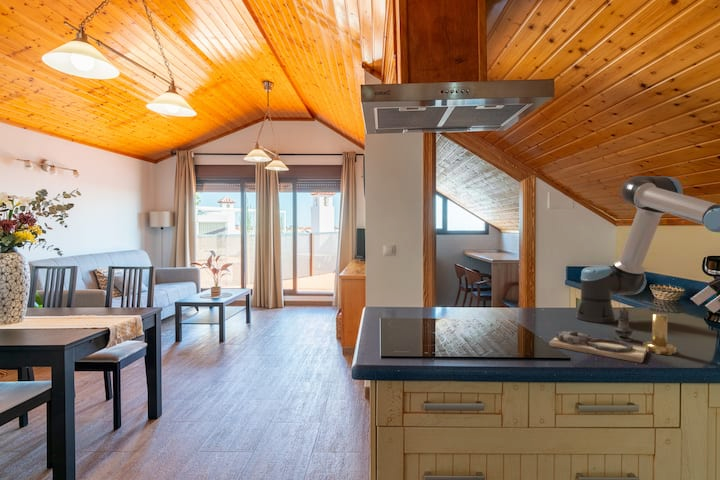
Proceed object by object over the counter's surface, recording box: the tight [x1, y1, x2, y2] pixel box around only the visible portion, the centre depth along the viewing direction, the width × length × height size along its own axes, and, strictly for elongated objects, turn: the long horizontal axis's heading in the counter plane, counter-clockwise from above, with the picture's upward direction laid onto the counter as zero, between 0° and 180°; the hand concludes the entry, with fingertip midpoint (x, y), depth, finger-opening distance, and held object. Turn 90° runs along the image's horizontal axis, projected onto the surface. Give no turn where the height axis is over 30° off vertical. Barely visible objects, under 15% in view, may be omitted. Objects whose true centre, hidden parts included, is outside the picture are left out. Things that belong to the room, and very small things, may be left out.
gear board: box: [548, 330, 648, 364], centre depth 131 cm, size 14×26×4 cm, turn 49°
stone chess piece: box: [613, 306, 634, 342], centre depth 143 cm, size 6×6×12 cm
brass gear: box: [642, 313, 677, 356], centre depth 129 cm, size 9×9×12 cm
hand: (701, 305), depth 124 cm, fingers open, 13 cm apart
